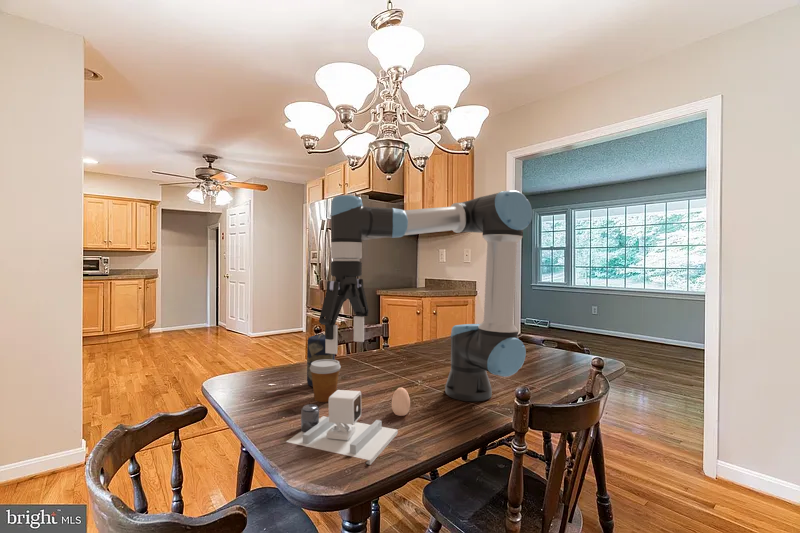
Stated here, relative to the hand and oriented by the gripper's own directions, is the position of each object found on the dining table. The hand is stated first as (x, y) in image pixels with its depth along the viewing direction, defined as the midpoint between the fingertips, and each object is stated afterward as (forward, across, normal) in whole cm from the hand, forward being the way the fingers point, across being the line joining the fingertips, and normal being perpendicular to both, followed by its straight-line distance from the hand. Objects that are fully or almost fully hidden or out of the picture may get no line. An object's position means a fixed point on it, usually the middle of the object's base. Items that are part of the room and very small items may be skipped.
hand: (346, 347), depth 93 cm
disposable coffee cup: (+23, -20, -18) cm, 35 cm away
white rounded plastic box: (+22, 0, 0) cm, 22 cm away
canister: (+23, -32, -28) cm, 49 cm away
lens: (+22, +1, -10) cm, 24 cm away
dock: (+23, +1, 0) cm, 23 cm away
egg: (+23, -17, +8) cm, 30 cm away
